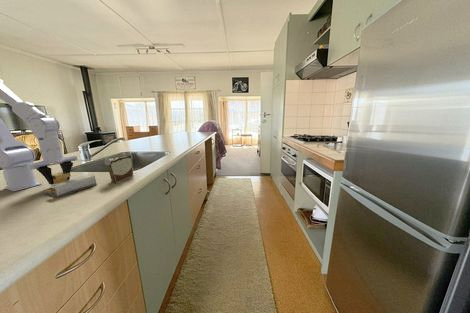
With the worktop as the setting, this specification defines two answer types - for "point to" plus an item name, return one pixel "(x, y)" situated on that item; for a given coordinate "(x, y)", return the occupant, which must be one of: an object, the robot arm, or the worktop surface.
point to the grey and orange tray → (71, 186)
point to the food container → (119, 167)
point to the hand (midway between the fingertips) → (59, 181)
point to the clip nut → (60, 177)
